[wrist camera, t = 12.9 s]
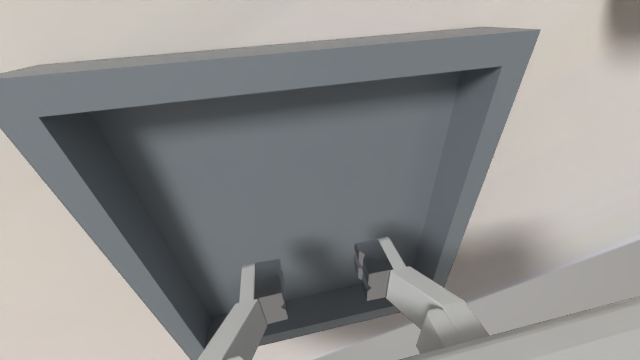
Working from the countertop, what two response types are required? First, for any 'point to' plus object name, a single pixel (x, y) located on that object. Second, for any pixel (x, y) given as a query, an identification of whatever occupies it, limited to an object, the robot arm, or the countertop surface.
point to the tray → (271, 163)
